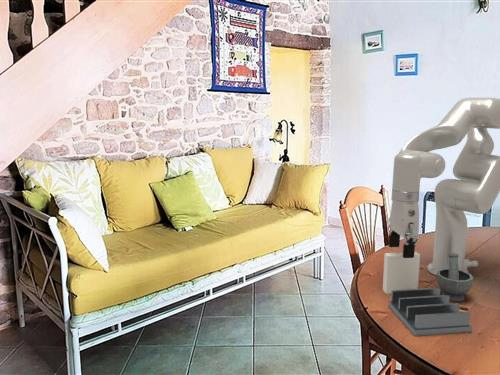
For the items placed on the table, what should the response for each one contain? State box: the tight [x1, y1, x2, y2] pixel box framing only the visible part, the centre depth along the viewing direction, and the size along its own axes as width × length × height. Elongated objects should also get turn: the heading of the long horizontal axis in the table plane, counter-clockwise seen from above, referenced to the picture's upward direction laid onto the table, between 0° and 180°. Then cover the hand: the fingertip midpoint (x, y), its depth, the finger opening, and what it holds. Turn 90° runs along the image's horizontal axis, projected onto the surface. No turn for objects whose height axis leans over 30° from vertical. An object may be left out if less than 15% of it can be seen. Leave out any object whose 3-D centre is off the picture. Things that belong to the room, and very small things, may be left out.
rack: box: [388, 286, 473, 337], centre depth 118 cm, size 16×15×5 cm
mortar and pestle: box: [436, 253, 474, 302], centre depth 131 cm, size 11×9×12 cm
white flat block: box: [382, 251, 421, 295], centre depth 134 cm, size 2×10×12 cm, turn 96°
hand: (400, 252), depth 132 cm, fingers open, 9 cm apart
